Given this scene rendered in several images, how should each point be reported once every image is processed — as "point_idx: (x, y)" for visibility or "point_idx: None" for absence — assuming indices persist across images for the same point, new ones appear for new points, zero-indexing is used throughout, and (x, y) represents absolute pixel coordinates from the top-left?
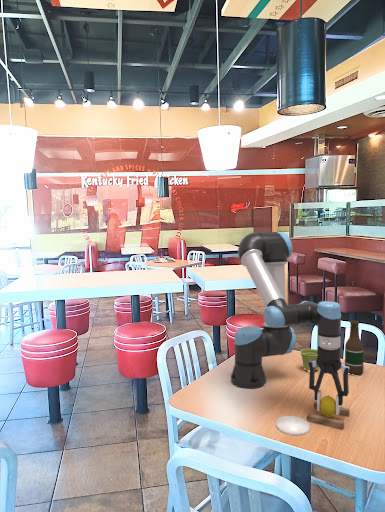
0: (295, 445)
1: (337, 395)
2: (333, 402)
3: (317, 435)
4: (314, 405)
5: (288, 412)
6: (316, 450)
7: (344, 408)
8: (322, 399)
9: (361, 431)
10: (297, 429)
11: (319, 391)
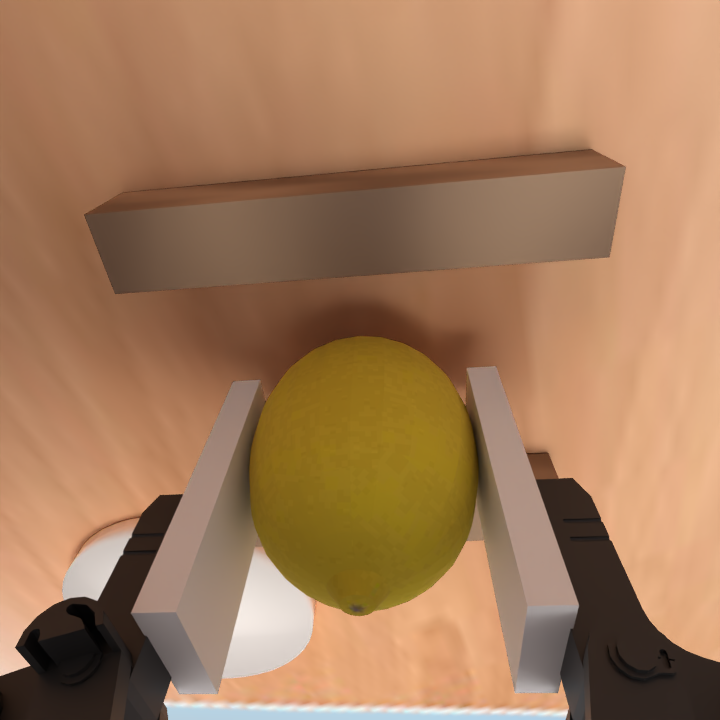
0: (315, 702)
1: (537, 660)
2: (451, 563)
3: None
4: (133, 285)
5: (17, 452)
6: (425, 698)
7: (543, 192)
8: (281, 573)
9: (707, 446)
10: (255, 649)
11: (174, 652)
